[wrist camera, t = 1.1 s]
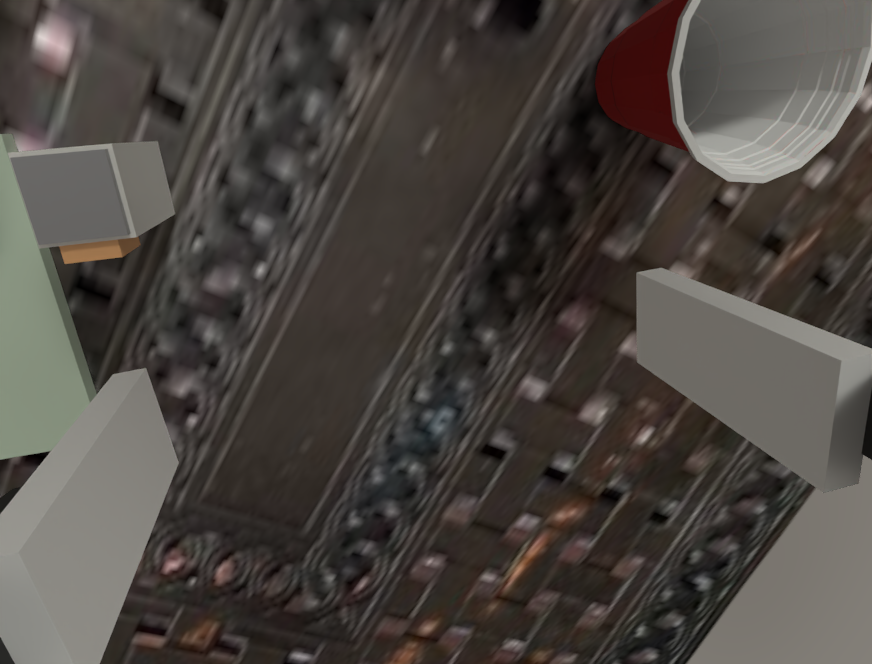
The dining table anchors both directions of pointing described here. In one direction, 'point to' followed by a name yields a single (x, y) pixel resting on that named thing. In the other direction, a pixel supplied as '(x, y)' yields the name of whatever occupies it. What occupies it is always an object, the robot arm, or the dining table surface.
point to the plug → (93, 197)
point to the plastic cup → (739, 79)
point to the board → (34, 334)
